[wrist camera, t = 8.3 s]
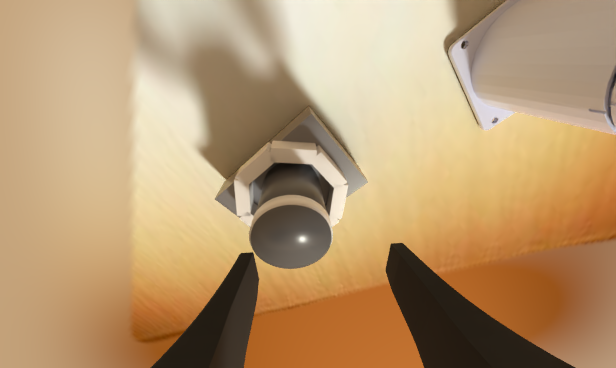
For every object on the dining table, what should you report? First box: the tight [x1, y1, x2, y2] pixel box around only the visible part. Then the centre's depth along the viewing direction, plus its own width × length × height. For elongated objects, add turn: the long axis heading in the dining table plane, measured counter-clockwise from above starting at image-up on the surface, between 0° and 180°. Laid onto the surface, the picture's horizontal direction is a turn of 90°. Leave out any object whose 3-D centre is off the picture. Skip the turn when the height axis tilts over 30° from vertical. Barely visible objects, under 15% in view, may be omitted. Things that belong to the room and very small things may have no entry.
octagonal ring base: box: [215, 106, 368, 227], centre depth 18 cm, size 10×8×4 cm
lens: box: [249, 163, 333, 269], centre depth 15 cm, size 5×5×6 cm
